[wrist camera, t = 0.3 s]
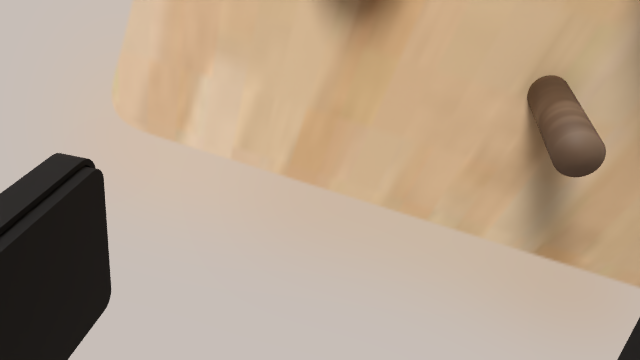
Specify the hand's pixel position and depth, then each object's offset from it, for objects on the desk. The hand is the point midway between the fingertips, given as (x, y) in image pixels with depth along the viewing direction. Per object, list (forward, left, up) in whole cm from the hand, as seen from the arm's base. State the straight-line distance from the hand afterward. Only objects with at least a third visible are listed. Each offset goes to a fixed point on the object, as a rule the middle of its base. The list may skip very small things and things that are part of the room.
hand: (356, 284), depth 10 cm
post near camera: (+3, +11, -30) cm, 32 cm away
